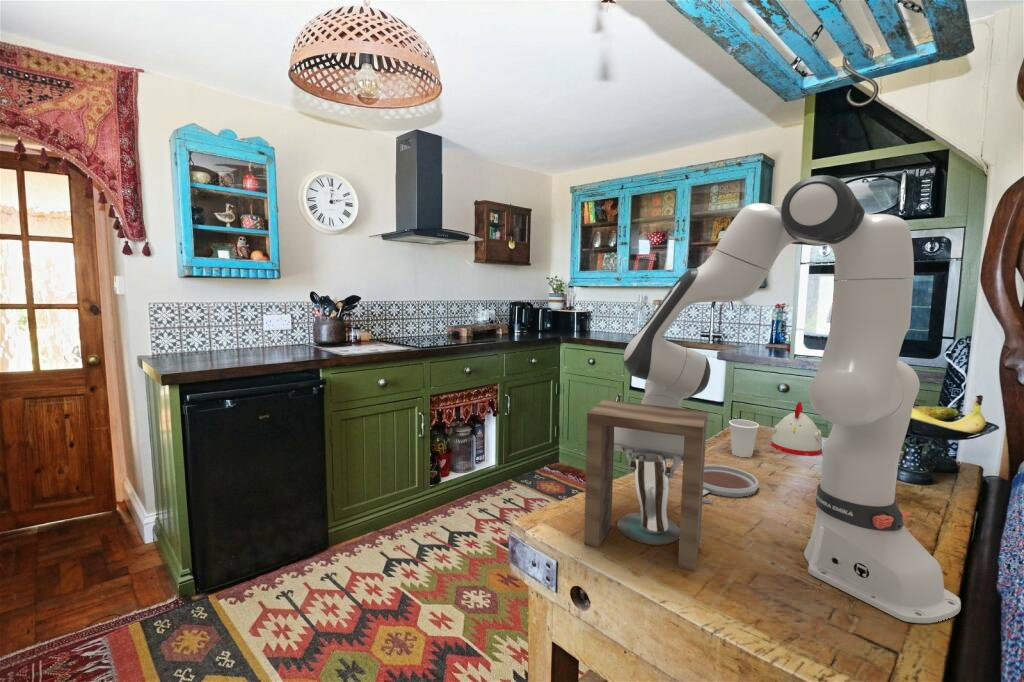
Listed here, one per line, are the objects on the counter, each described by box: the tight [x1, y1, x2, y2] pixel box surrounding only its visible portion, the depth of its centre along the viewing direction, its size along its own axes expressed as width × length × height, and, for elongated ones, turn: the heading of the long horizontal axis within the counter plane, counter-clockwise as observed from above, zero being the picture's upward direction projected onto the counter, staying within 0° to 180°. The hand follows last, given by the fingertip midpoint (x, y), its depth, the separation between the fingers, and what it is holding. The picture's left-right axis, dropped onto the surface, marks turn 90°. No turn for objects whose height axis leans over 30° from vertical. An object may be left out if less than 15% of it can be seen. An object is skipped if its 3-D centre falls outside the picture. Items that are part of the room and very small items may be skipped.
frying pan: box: [680, 464, 760, 505], centre depth 122 cm, size 17×3×28 cm
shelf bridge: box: [583, 399, 709, 572], centre depth 99 cm, size 18×21×27 cm
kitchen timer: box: [771, 401, 823, 457], centre depth 153 cm, size 14×14×15 cm
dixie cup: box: [728, 418, 760, 458], centre depth 147 cm, size 8×8×10 cm
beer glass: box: [634, 453, 670, 534], centre depth 101 cm, size 7×7×15 cm
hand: (649, 473), depth 101 cm, fingers closed on beer glass, 6 cm apart
